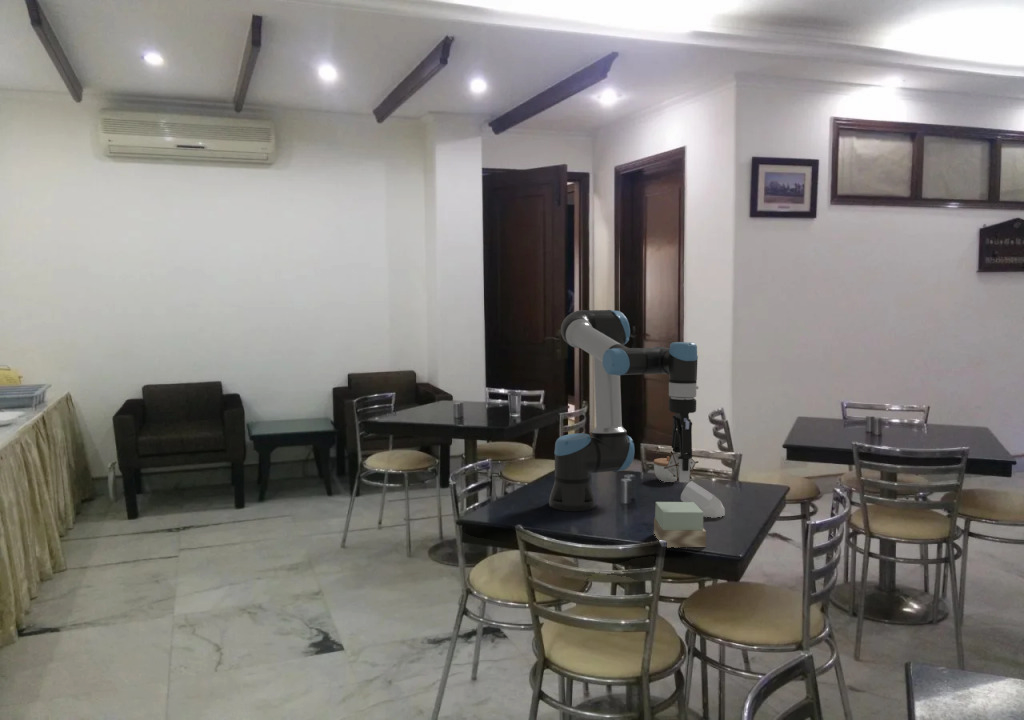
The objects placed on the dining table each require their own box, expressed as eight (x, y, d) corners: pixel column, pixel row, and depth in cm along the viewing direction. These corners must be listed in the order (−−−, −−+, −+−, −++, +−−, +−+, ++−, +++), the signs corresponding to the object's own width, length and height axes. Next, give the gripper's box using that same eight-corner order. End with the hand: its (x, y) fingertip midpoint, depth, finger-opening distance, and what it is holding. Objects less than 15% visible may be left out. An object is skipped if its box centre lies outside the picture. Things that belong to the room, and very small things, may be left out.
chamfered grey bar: (673, 489, 256) (699, 507, 232) (691, 478, 257) (718, 495, 233) (683, 507, 257) (710, 527, 233) (701, 496, 257) (729, 515, 234)
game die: (687, 493, 209) (703, 469, 203) (658, 482, 209) (673, 458, 203) (687, 471, 217) (703, 447, 211) (660, 461, 217) (675, 437, 211)
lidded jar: (648, 478, 288) (649, 454, 287) (674, 477, 290) (675, 453, 290) (660, 485, 277) (661, 460, 277) (687, 483, 280) (687, 458, 279)
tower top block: (662, 530, 206) (663, 512, 205) (655, 518, 217) (655, 501, 216) (702, 530, 206) (703, 512, 205) (693, 519, 217) (693, 502, 216)
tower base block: (661, 548, 205) (662, 530, 205) (653, 535, 217) (654, 518, 217) (705, 549, 205) (706, 531, 205) (695, 535, 217) (695, 518, 217)
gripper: (705, 402, 198) (703, 487, 200) (687, 393, 219) (686, 470, 221) (676, 402, 198) (675, 487, 200) (662, 393, 219) (660, 470, 221)
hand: (680, 478), depth 210 cm, fingers closed on game die, 8 cm apart
